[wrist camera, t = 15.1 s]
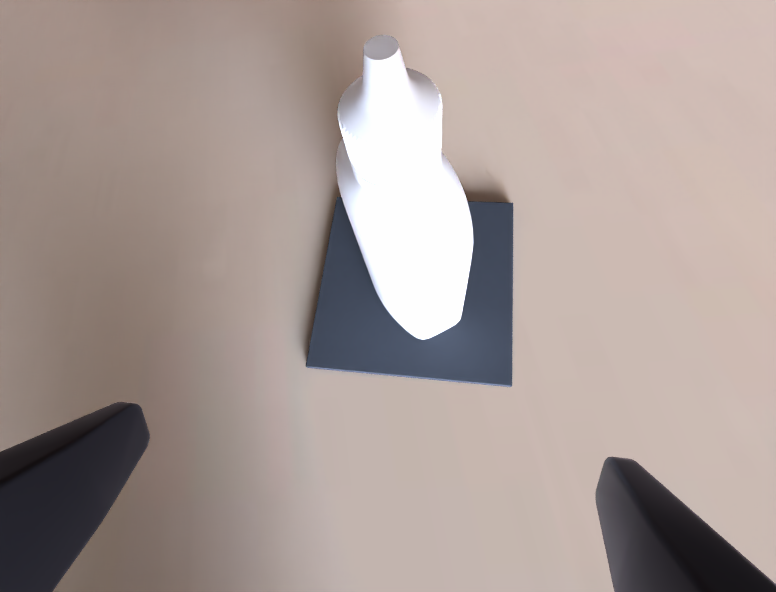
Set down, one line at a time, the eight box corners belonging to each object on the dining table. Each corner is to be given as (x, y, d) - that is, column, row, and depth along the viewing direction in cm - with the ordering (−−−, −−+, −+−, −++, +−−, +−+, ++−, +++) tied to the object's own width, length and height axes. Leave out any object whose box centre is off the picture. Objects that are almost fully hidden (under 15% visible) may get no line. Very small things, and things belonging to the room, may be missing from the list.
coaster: (510, 387, 17) (512, 386, 17) (307, 367, 19) (305, 366, 18) (512, 205, 20) (513, 202, 20) (338, 200, 22) (336, 196, 21)
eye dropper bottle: (363, 342, 18) (251, 169, 7) (370, 232, 20) (291, -35, 9) (461, 342, 18) (504, 159, 7) (458, 230, 20) (487, -54, 9)
